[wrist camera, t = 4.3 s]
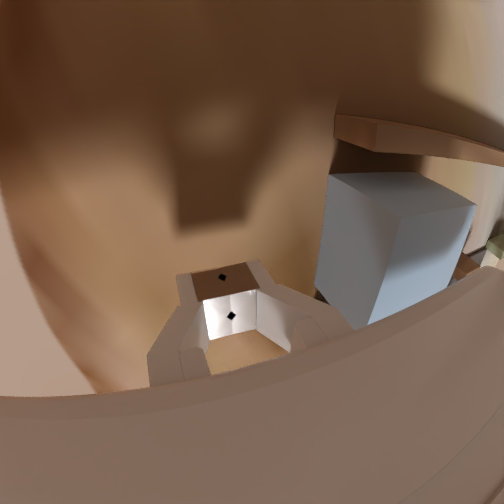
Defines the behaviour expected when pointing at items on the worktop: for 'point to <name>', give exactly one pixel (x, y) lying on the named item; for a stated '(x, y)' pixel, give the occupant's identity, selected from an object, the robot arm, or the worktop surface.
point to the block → (388, 242)
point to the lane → (431, 144)
